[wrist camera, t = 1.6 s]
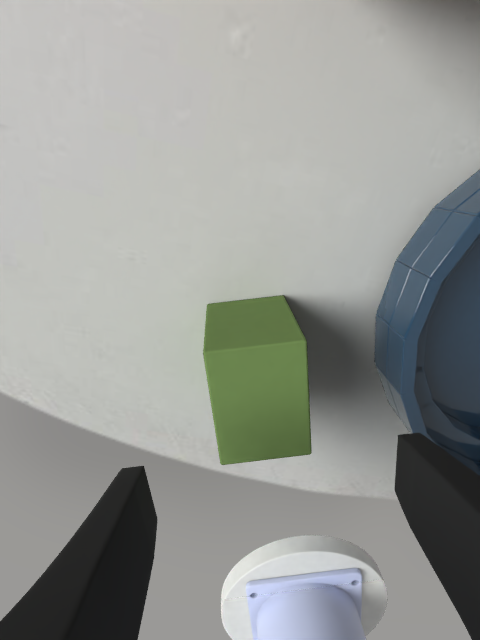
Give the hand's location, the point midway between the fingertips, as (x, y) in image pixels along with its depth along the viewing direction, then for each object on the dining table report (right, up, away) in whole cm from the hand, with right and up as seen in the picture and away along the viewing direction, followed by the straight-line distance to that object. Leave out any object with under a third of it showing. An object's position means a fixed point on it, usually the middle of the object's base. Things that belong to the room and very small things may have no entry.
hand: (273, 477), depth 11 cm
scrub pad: (0, +3, +8) cm, 8 cm away
